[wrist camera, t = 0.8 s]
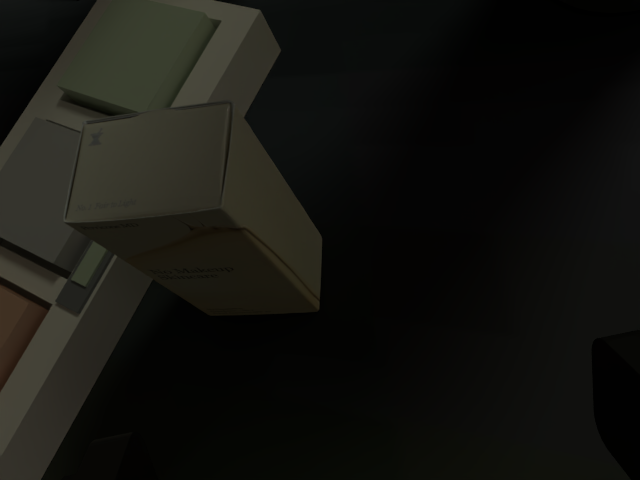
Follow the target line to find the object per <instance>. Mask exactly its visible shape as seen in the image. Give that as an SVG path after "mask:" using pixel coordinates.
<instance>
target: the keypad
mask: <svg viewBox="0 0 640 480" xmlns="http://www.w3.org/2000/svg"><path fill="white" fill-rule="evenodd" d="M111 1H112V0H97V1H96V3H95V5H94V6H93V8H92V9H91V11H90V12H89V14H88V15H87V17H86V18H85V20H84V21H83V23H82V24H81V26H80V27H79V29H78V30H77V32H76V33H75V35H74V36H73V38H72V39H71V41H70V42H69V44H68V45H67V47H66V48H65V50H64V51H63V53H62V54H61V56H60V57H59V59H58V60H57V62H56V63H55V65H54V66H53V68H52V70H51V71H50V73H49V74H48V76H47V77H46V79H45V80H44V82H43V83H42V85H41V86H40V88H39V89H38V91H37V92H36V94H35V95H34V97H33V98H32V100H31V101H30V103H29V104H28V106H27V107H26V109H25V110H24V112H23V113H22V115H21V116H20V118H19V119H18V121H17V122H16V124H15V125H14V127H13V128H12V130H11V131H10V133H9V135H8V136H7V138H6V139H5V141H4V142H3V144H2V145H1V147H0V171H1V169H2V168H3V166H4V165H5V163H6V161H7V160H8V158H9V157H10V155H11V154H12V152H13V151H14V149H15V148H16V146H17V145H18V143H19V142H20V140H21V139H22V137H23V136H24V134H25V132H26V131H27V129H28V128H29V126H30V125H31V123H32V122H33V120H34V119H35V117H37V118H40V119H42V120H45V121H48V122H51V123H53V124H56V125H59V126H62V127H64V128H67V129H70V130H73V131H76V132H78V133H81V127H82V122H83V121H85V120H92V119H100V118H105V117H111V116H113V115H110V114H107V113H104V112H101V111H98V110H95V109H92V108H89V107H86V106H83V105H80V104H77V103H75V102H74V101H73V100H72V99H71V98H70V97H69V96H68V95H66V94H65V93H64V92H63V91H62V90H61V89H60V88H59V87H58V86H56V85H57V84H58V82H59V81H60V79H61V77H62V76H63V74H64V73H65V71H66V70H67V68H68V67H69V65H70V64H71V62H72V61H73V59H74V58H75V56H76V55H77V53H78V51H79V50H80V48H81V47H82V45H83V44H84V42H85V41H86V39H87V38H88V36H89V35H90V33H91V32H92V30H93V29H94V27H95V25H96V24H97V22H98V21H99V19H100V18H101V16H102V15H103V13H104V12H105V10H106V9H107V7H108V6H109V4H110V3H111ZM150 1H154V2H159V3H164V4H168V5H173V6H177V7H182V8H186V9H191V10H195V11H200V12H204V13H206V15H207V16H208V18H209V20H210V21H211V23H212V24H213V26H214V27H215V29H216V31H215V33H214V35H213V36H212V38H211V40H210V41H209V43H208V45H207V46H206V48H205V50H204V52H203V53H202V55H201V57H200V58H199V60H198V62H197V63H196V65H195V67H194V68H193V70H192V72H191V73H190V75H189V77H188V78H187V80H186V82H185V83H184V85H183V87H182V88H181V90H180V92H179V93H178V95H177V97H176V98H175V100H174V102H173V104H172V105H171V107H178V106H186V105H192V104H200V103H208V102H216V101H223V100H231V101H233V102H234V103H235V105H236V106H237V108H238V109H239V111H240V113H241V114H242V116H243V117H244V116H245V114H246V112H247V111H248V109H249V107H250V105H251V103H252V102H253V100H254V98H255V96H256V94H257V93H258V91H259V89H260V87H261V86H262V84H263V82H264V80H265V78H266V77H267V75H268V73H269V71H270V69H271V68H272V66H273V64H274V62H275V61H276V59H277V57H278V55H279V53H280V52H281V49H280V48H279V46H278V44H277V42H276V40H275V38H274V36H273V34H272V32H271V30H270V28H269V26H268V24H267V22H266V20H265V18H264V17H263V15H262V13H261V11H260V10H257V9H252V8H248V7H243V6H238V5H233V4H228V3H224V2H219V1H214V0H150ZM152 280H153V279H152V278H150V277H149V276H147V275H146V274H144V273H143V272H141V271H139V270H138V269H136V268H135V267H133V266H132V265H130V264H129V263H127V262H126V261H124V260H122V259H121V258H119V257H118V256H116V255H115V254H113V253H111V252H110V251H108V250H107V249H105V248H104V247H102V246H100V245H99V244H97V243H96V242H94V241H93V240H91V241H90V243H89V244H88V246H87V248H86V249H85V251H84V253H83V254H82V256H81V258H80V260H79V261H78V263H77V265H76V266H75V268H74V270H73V271H72V273H71V272H69V271H67V270H65V269H63V268H61V267H59V266H57V265H55V264H53V263H51V262H49V261H47V260H45V259H43V258H41V257H39V256H37V255H35V254H33V253H31V252H29V251H27V250H25V249H23V248H21V247H19V246H17V245H15V244H13V243H11V242H9V241H7V240H5V239H3V238H1V237H0V284H2V285H4V286H6V287H7V288H9V289H11V290H13V291H15V292H17V293H18V294H20V295H22V296H24V297H26V298H28V299H29V300H31V301H33V302H35V303H37V304H38V305H40V306H42V307H44V308H46V309H48V310H49V312H48V313H47V315H46V317H45V318H44V320H43V322H42V323H41V325H40V327H39V328H38V330H37V332H36V333H35V335H34V337H33V338H32V340H31V342H30V343H29V345H28V347H27V348H26V350H25V352H24V353H23V355H22V357H21V359H20V360H19V362H18V364H17V365H16V367H15V369H14V370H13V372H12V374H11V375H10V377H9V379H8V380H7V382H6V384H5V385H4V387H3V389H2V390H1V392H0V480H41V478H42V477H43V475H44V473H45V471H46V469H47V468H48V466H49V464H50V462H51V461H52V459H53V457H54V455H55V453H56V452H57V450H58V448H59V446H60V444H61V443H62V441H63V439H64V437H65V436H66V434H67V432H68V430H69V428H70V427H71V425H72V423H73V421H74V419H75V418H76V416H77V414H78V412H79V411H80V409H81V407H82V405H83V403H84V402H85V400H86V398H87V396H88V394H89V393H90V391H91V389H92V387H93V386H94V384H95V382H96V380H97V378H98V377H99V375H100V373H101V371H102V369H103V368H104V366H105V364H106V362H107V361H108V359H109V357H110V355H111V353H112V352H113V350H114V348H115V346H116V344H117V343H118V341H119V339H120V337H121V336H122V334H123V332H124V330H125V328H126V327H127V325H128V323H129V321H130V319H131V318H132V316H133V314H134V312H135V311H136V309H137V307H138V305H139V303H140V302H141V300H142V298H143V296H144V294H145V293H146V291H147V289H148V287H149V286H150V284H151V282H152Z"/></svg>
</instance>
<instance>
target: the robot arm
mask: <svg viewBox="0 0 640 480" xmlns="http://www.w3.org/2000/svg"><path fill="white" fill-rule="evenodd" d="M559 1H562V2H564V3H566V4H568V5H570V6H572V7H576V8H580V9H583V10H587V11H592V12H604V13H620V12H632V11H637V10H640V0H559ZM592 373H593V401H594V416H595V421H596V425H597V428H598V431H599V434H600V436H601V439H602V441H603V442H604V444H605V446H606V448H607V449H608V450H609V452H610V453H611V454H612V456H613V457H614V458H615V459H616V461H617V462H618V463H619V465H620V466H621V467H622V468H623V470H624V471H625V472H626V474H627V475H628V476H629V477H630V479H631V480H640V330H636V331H631V332H626V333H621V334H617V335H612V336H607V337H602V338H597V339H595V340H594V342H593V345H592ZM62 480H158V478H157V475H156V473H155V470H154V467H153V464H152V462H151V459H150V456H149V453H148V450H147V448H146V445H145V442H144V440H143V438H142V436H141V435H140V433H138V432H136V431H135V432H130V433H125V434H121V435H116V436H111V437H106V438H101V439H96V440H93V441H92V442H91V443H90V444H89V446H88V448H87V451H86V453H85V455H84V457H83V460H82V462H81V464H80V466H79V469H78V471H77V473H76V474H74V475H70V476H65V477H63V478H62Z"/></svg>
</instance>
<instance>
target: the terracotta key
mask: <svg viewBox="0 0 640 480" xmlns="http://www.w3.org/2000/svg"><path fill="white" fill-rule="evenodd" d="M48 312H49V310H48V309H46V308H44V307H42V306H40V305H38V304H37V303H35V302H33V301H31V300H29V299H28V298H26V297H24V296H22V295H20V294H18V293H17V292H15V291H13V290H11V289H9V288H7V287H6V286H4V285H2V284H0V392H1V390H2V389H3V387H4V385H5V384H6V382H7V380H8V379H9V377H10V375H11V374H12V372H13V370H14V369H15V367H16V365H17V364H18V362H19V360H20V359H21V357H22V355H23V353H24V352H25V350H26V348H27V347H28V345H29V343H30V342H31V340H32V338H33V337H34V335H35V333H36V332H37V330H38V328H39V327H40V325H41V323H42V322H43V320H44V318H45V317H46V315H47V313H48Z"/></svg>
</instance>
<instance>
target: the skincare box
mask: <svg viewBox="0 0 640 480" xmlns="http://www.w3.org/2000/svg"><path fill="white" fill-rule="evenodd" d="M63 221H64V223H65V224H67V225H69V226H70V227H72V228H74V229H75V230H77V231H78V232H80V233H82V234H83V235H85V236H87V237H88V238H89V239H91V240H93V241H94V242H96V243H97V244H99V245H100V246H102V247H104V248H105V249H107V250H108V251H110V252H111V253H113V254H115V255H116V256H118V257H119V258H121V259H122V260H124V261H126V262H127V263H129V264H130V265H132V266H133V267H135V268H136V269H138V270H139V271H141V272H143V273H144V274H146V275H147V276H149V277H150V278H152V279H153V280H155V281H157V282H158V283H160V284H161V285H163V286H164V287H166V288H168V289H169V290H171V291H172V292H174V293H175V294H177V295H178V296H180V297H181V298H183V299H184V300H186V301H187V302H189V303H191V304H192V305H194V306H195V307H197V308H198V309H200V310H201V311H203V312H205V313H206V314H207V315H210V316H220V315H259V314H285V313H306V312H317V311H318V310H319V303H320V286H321V261H322V237H321V235H320V233H319V232H318V230H317V229H316V227H315V226H314V224H313V223H312V221H311V220H310V218H309V216H308V215H307V213H306V212H305V210H304V209H303V207H302V206H301V204H300V202H299V201H298V200H297V198H296V197H295V195H294V194H293V192H292V190H291V189H290V187H289V186H288V184H287V183H286V181H285V180H284V178H283V177H282V175H281V174H280V172H279V170H278V169H277V168H276V166H275V164H274V163H273V161H272V160H271V158H270V157H269V156H268V154H267V153H266V151H265V149H264V148H263V146H262V145H261V143H260V142H259V140H258V139H257V137H256V136H255V134H254V133H253V131H252V130H251V128H250V126H249V125H248V123H247V122H246V120H245V119H244V117H243V116H242V114H241V113H240V111H239V109H238V108H237V106H236V105H235V103H234V102H233V101H231V100H223V101H216V102H208V103H200V104H192V105H186V106H178V107H169V108H161V109H154V110H148V111H143V112H137V113H131V114H124V115H118V116H111V117H105V118H100V119H92V120H85V121H83V122H82V127H81V133H80V137H79V141H78V145H77V150H76V155H75V159H74V164H73V169H72V174H71V178H70V182H69V187H68V193H67V198H66V204H65V209H64V214H63Z"/></svg>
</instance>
